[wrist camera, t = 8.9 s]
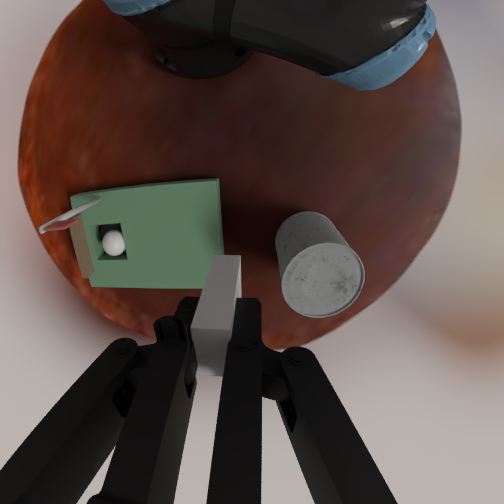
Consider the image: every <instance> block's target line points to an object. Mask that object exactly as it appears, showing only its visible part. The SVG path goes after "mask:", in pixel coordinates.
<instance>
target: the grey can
mask: <svg viewBox="0 0 504 504" xmlns="http://www.w3.org/2000/svg"><path fill="white" fill-rule="evenodd" d="M275 246H276V251H277V256H278V262H279V269H280V276H281V286H282V293H283V296H284V299H285V301H286V302H287V303H288V305H289V306H290V307H291V308H292V309H293V310H295V311H296V312H298V313H300V314H302V315H304V316H308V317H314V318H322V317H329V316H332V315H335V314H337V313H339V312H341V311H343V310H345V309H346V308H347V307H348V306H350V305H351V304H352V303H353V302H354V301H355V299H356V298H357V297H358V295H359V293H360V292H361V290H362V286H363V283H364V268H363V264H362V262H361V260H360V258H359V256H358V255H357V254H356V253H355V252H354V251H353V250H352V249H351V247H350V246H349V245H348V243H347V242H346V241H345V240H344V238H343V237H342V236H341V234H340V233H339V232H338V231H337V229H336V228H335V227H334V225H333V223H332V222H331V221H330V220H329V219H328V218H327V217H325V216H324V215H322V214H319V213H316V212H309V211H307V212H300V213H297V214H294V215H292V216H291V217H289V218H288V219H287V220H285V221H284V222H283V223H282V225H281V226H280V228H279V229H278V232H277V235H276V240H275Z"/></svg>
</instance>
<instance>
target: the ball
mask: <svg viewBox="0 0 504 504" xmlns="http://www.w3.org/2000/svg"><path fill="white" fill-rule="evenodd" d="M102 246H103V249H104V251H105V252H106V253H107V254H109V255H112V256H117V255H120V254H121V253H122V252H123V251H124V250H125V244H124V239H123V234H122V232H120V231H118V230H111V231H109V232H107V233H106V234H105V236H104V237H103V240H102Z"/></svg>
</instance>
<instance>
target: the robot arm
mask: <svg viewBox="0 0 504 504" xmlns="http://www.w3.org/2000/svg"><path fill="white" fill-rule="evenodd" d="M103 1H104V2H105V3H106V5H107V6H108V7H109V9H110V10H111V11H113V12H114V13H116V14H117V15H121V16H122V17H123V18H125V19H126V20H128V21H129V22H130V23H132V24H133V25H134V26H136V27H137V28H138V29H139V30H141V31H142V32H143V33H145V34H146V35H147V36H148V37H150V43H151V48H152V51H153V53H154V55H155V57H156V58H157V60H158V61H159V62H160V63H161V64H162V65H163V66H164V67H166V68H167V69H169V70H170V71H172V72H173V73H175V74H177V75H180V76H183V77H186V78H192V79H207V78H214V77H218V76H221V75H224V74H227V73H229V72H231V71H233V70H235V69H236V68H238V67H239V66H241V65H242V64H243V63H245V62H246V61H247V60H248V59H249V58H250V56H251V55H252V54H253V52H254V51H258V52H262V53H265V54H268V55H271V56H274V57H277V58H280V59H283V60H286V61H289V62H291V63H294V64H297V65H299V66H302V67H304V68H307V69H309V70H312V71H314V72H315V73H316V74H317V75H318V76H320V77H322V78H327V79H333V80H335V81H338V82H340V83H343V84H345V85H347V86H349V87H352V88H354V89H358V90H374V89H378V88H381V87H384V86H386V85H388V84H390V83H392V82H393V81H395V80H396V79H398V78H399V77H400V76H402V75H403V74H404V73H405V72H406V71H408V70H409V69H410V68H411V67H412V66H413V65H414V64H415V63H416V62H417V61H418V59H419V58H420V57H421V56H422V54H423V53H424V52H425V50H426V48H427V47H428V44H427V41H428V40H429V39H430V38H432V37H433V35H434V32H435V28H436V18H435V15H434V13H433V11H432V10H431V9H430V7H429V5H428V4H427V3H426V1H427V0H103ZM153 327H154V330H155V334H156V338H157V341H156V343H154V344H150V345H143V346H138V344H137V343H136V341H134V340H133V339H131V338H120V339H117V340H115V341H114V342H112V343H111V344H110V345H109V346H108V347H107V348H106V349H105V350H104V351H103V352H102V353H101V355H100V356H99V357H98V358H97V359H96V360H95V361H94V362H93V363H92V364H91V365H90V366H89V367H88V369H87V370H86V371H85V372H84V373H83V374H82V375H81V376H80V377H79V378H78V379H77V381H76V382H75V383H74V384H73V385H72V386H71V387H70V388H69V389H68V391H67V392H66V393H65V394H64V395H63V396H62V397H61V398H60V400H59V401H58V402H57V403H56V404H55V405H54V406H53V407H52V409H51V410H50V411H49V412H48V413H47V414H46V416H45V417H44V418H43V419H42V420H41V422H40V423H39V424H38V425H37V426H36V427H35V429H34V430H33V431H32V432H31V433H30V435H29V436H28V437H27V438H26V439H25V440H24V442H23V443H22V444H21V445H20V447H19V448H18V449H17V450H16V451H15V453H14V454H13V455H12V456H11V458H10V459H9V460H8V461H7V463H6V464H5V465H4V467H3V468H2V469H1V470H0V504H76V503H77V502H78V500H79V499H80V497H81V496H82V494H83V493H84V491H85V490H86V488H87V487H88V485H89V484H90V483H91V481H92V480H93V478H94V477H95V475H96V473H97V472H98V471H99V469H100V468H101V466H102V465H103V463H104V462H105V460H106V459H107V457H108V456H109V454H110V453H111V451H112V450H113V449H114V447H115V446H116V447H115V450H114V453H113V456H112V459H111V462H110V465H109V468H108V471H107V474H106V477H105V481H104V484H103V487H102V490H101V491H100V492H99V494H96V495H94V496H92V497H91V498H90V499H89V500H88V502H87V504H174V498H175V492H176V486H177V480H178V475H179V470H180V465H181V459H182V454H183V449H184V444H185V438H186V434H187V428H188V423H189V419H190V414H191V408H192V404H193V399H194V395H195V390H196V385H197V382H196V371H197V369H198V374H199V375H209V376H223V380H222V387H221V394H220V402H219V409H218V417H217V424H216V432H215V439H214V447H213V455H212V463H211V471H210V479H209V486H208V495H207V504H261V465H262V463H261V462H262V460H261V459H262V397H264V398H268V399H272V400H276V403H277V406H278V409H279V412H280V414H281V417H282V420H283V422H284V425H285V428H286V431H287V433H288V436H289V439H290V441H291V444H292V446H293V449H294V452H295V454H296V457H297V460H298V462H299V465H300V467H301V470H302V473H303V475H304V478H305V480H306V483H307V485H308V488H309V490H310V493H311V495H312V498H313V500H314V503H315V504H398V503H397V502H396V500H395V498H394V496H393V494H392V493H391V491H390V489H389V487H388V485H387V484H386V482H385V480H384V478H383V476H382V475H381V473H380V471H379V469H378V467H377V466H376V464H375V462H374V460H373V459H372V457H371V455H370V453H369V451H368V449H367V448H366V446H365V444H364V442H363V440H362V439H361V437H360V435H359V433H358V431H357V430H356V428H355V426H354V424H353V423H352V421H351V419H350V417H349V415H348V413H347V412H346V410H345V408H344V406H343V405H342V403H341V401H340V399H339V398H338V396H337V394H336V392H335V390H334V389H333V387H332V385H331V383H330V382H329V380H328V378H327V376H326V374H325V373H324V371H323V369H322V367H321V366H320V364H319V362H318V360H317V358H316V357H315V355H314V354H313V353H312V351H310V350H309V349H307V348H304V347H299V346H298V347H290V348H287V349H286V350H284V351H283V352H277V351H274V350H271V349H269V348H268V347H266V346H265V345H264V343H263V342H262V336H261V303H260V302H259V300H258V299H257V298H241V255H214V258H213V261H212V264H211V267H210V270H209V273H208V276H207V279H206V282H205V285H204V288H203V291H202V294H201V297H185V298H184V299H183V300H181V301H180V302H179V305H178V307H177V310H176V312H175V315H172V316H164V317H161V318H159V319H158V320H156V321H155V322H154V324H153Z"/></svg>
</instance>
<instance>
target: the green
mask: <svg viewBox="0 0 504 504" xmlns="http://www.w3.org/2000/svg"><path fill="white" fill-rule="evenodd" d="M70 199H71V205H72V210H70V211H68V212H66V213H65V214H63V215H61V216H59V217H57V218H55V219H53V220H51V221H50V222H48V223H46V224H44V225H42V226H41V227H39V232H40V233H41V234H43V233H44V232H46V231H52V230H63V229H67V228H68V227H69V228H70V232H71V237H72V241H73V245H74V249H75V253H76V257H77V260H78V264H79V267H80V271H81V274H82V278H88V277H89V280H90V284H91V287H121V288H204V285H205V282H206V279H207V276H208V273H209V270H210V267H211V264H212V261H213V258H214V255H224V244H223V231H222V218H221V203H220V188H219V178H212V179H197V180H184V181H172V182H162V183H152V184H142V185H134V186H126V187H118V188H111V189H104V190H97V191H90V192H84V193H78V194H76V195H74V196H71V197H70ZM72 216H73V217H72ZM70 217H71V218H70ZM68 218H69V219H68ZM67 219H68V220H67ZM102 224H103V226H102V227H101V230H100V233H99V228H98V225H102ZM111 230H118V231H120V232H122V234H123V239H124V244H125V250H124V251H123V252H125V251H126V254H120V255H117V256H112V255H109V254H104V251H103V247H102V240H103V237H104V236H105V234H106V233H107V232H109V231H111ZM123 252H122V253H123Z"/></svg>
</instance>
